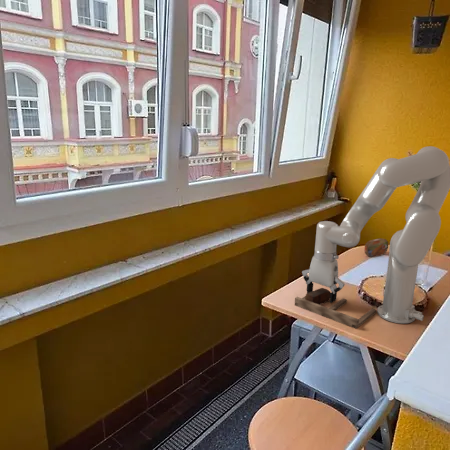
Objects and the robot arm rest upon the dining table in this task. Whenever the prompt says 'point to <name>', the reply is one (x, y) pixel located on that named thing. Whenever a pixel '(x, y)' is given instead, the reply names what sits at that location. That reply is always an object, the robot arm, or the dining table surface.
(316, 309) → the lane rack
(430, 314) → the dining table surface
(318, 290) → the brick
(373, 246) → the tin
